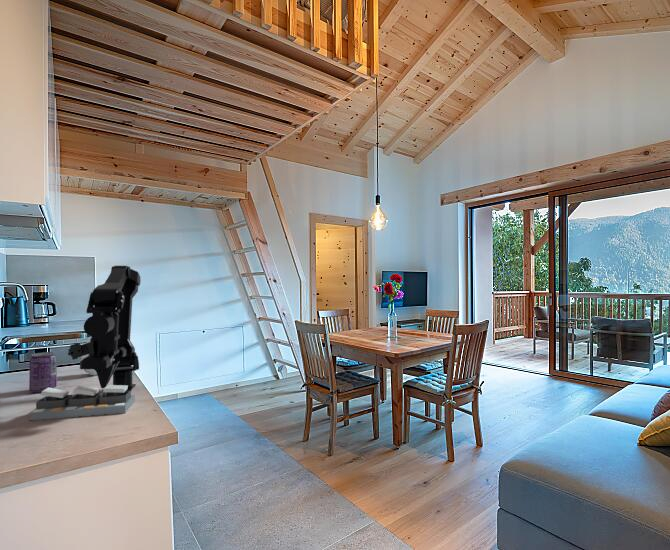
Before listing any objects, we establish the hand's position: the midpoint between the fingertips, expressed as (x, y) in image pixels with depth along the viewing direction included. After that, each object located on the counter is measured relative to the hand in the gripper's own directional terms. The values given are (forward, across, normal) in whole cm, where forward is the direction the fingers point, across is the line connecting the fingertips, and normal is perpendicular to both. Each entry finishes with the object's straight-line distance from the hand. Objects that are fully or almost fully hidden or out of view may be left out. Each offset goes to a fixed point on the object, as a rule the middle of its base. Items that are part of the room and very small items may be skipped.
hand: (103, 387), depth 107 cm
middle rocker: (+1, 0, -4) cm, 5 cm away
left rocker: (+2, 0, -12) cm, 12 cm away
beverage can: (+7, -25, -25) cm, 36 cm away
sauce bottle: (+6, -43, -17) cm, 46 cm away
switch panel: (+6, 0, -4) cm, 7 cm away
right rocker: (+1, 0, +3) cm, 3 cm away
